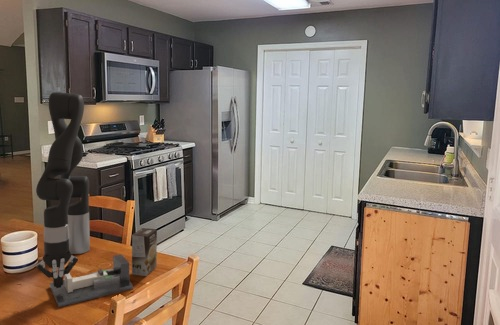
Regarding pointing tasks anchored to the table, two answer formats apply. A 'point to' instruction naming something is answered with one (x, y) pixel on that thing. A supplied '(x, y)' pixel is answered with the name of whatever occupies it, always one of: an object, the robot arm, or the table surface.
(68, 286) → the plunger
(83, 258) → the table surface
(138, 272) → the coffee box
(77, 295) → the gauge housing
